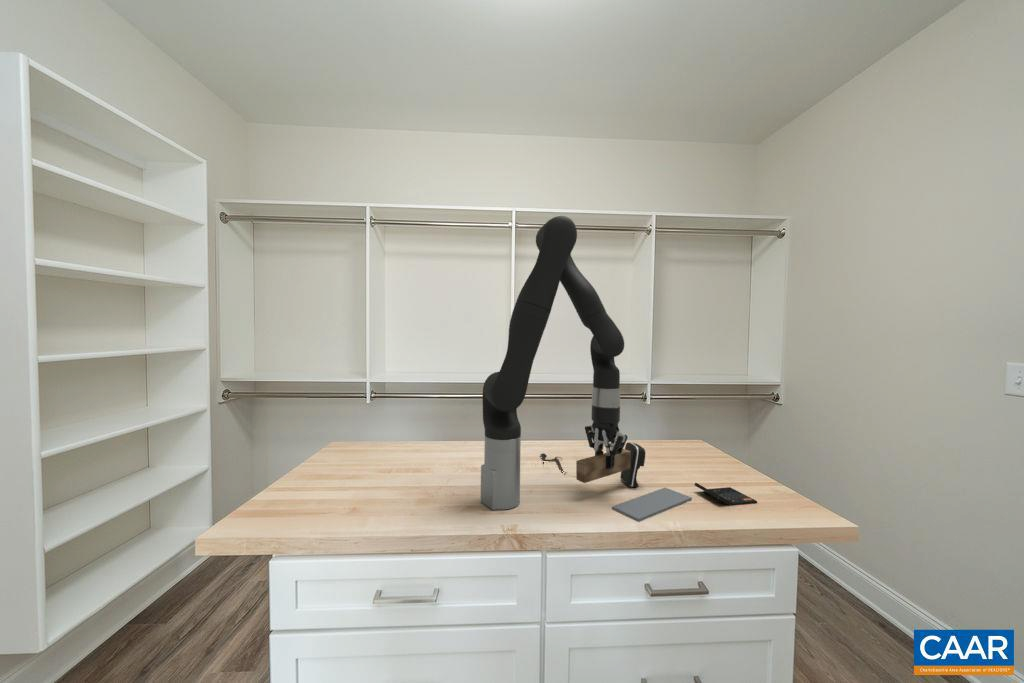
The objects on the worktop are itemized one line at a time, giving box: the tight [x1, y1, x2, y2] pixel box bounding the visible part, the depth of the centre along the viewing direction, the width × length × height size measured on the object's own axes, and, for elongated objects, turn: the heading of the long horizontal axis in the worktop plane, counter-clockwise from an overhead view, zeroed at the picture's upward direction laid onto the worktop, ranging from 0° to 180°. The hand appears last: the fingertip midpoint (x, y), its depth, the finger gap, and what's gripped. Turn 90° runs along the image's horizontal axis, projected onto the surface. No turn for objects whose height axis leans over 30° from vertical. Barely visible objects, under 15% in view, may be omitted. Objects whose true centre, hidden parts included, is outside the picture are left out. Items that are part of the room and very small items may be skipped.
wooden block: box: [575, 448, 631, 484], centre depth 108 cm, size 18×3×5 cm, turn 124°
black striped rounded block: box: [619, 442, 646, 488], centre depth 115 cm, size 7×4×11 cm, turn 7°
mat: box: [611, 487, 693, 522], centre depth 101 cm, size 22×8×1 cm, turn 125°
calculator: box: [694, 482, 758, 507], centre depth 106 cm, size 9×12×3 cm
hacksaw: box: [539, 453, 575, 478], centre depth 128 cm, size 24×10×2 cm, turn 1°
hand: (604, 466), depth 108 cm, fingers closed on wooden block, 3 cm apart
